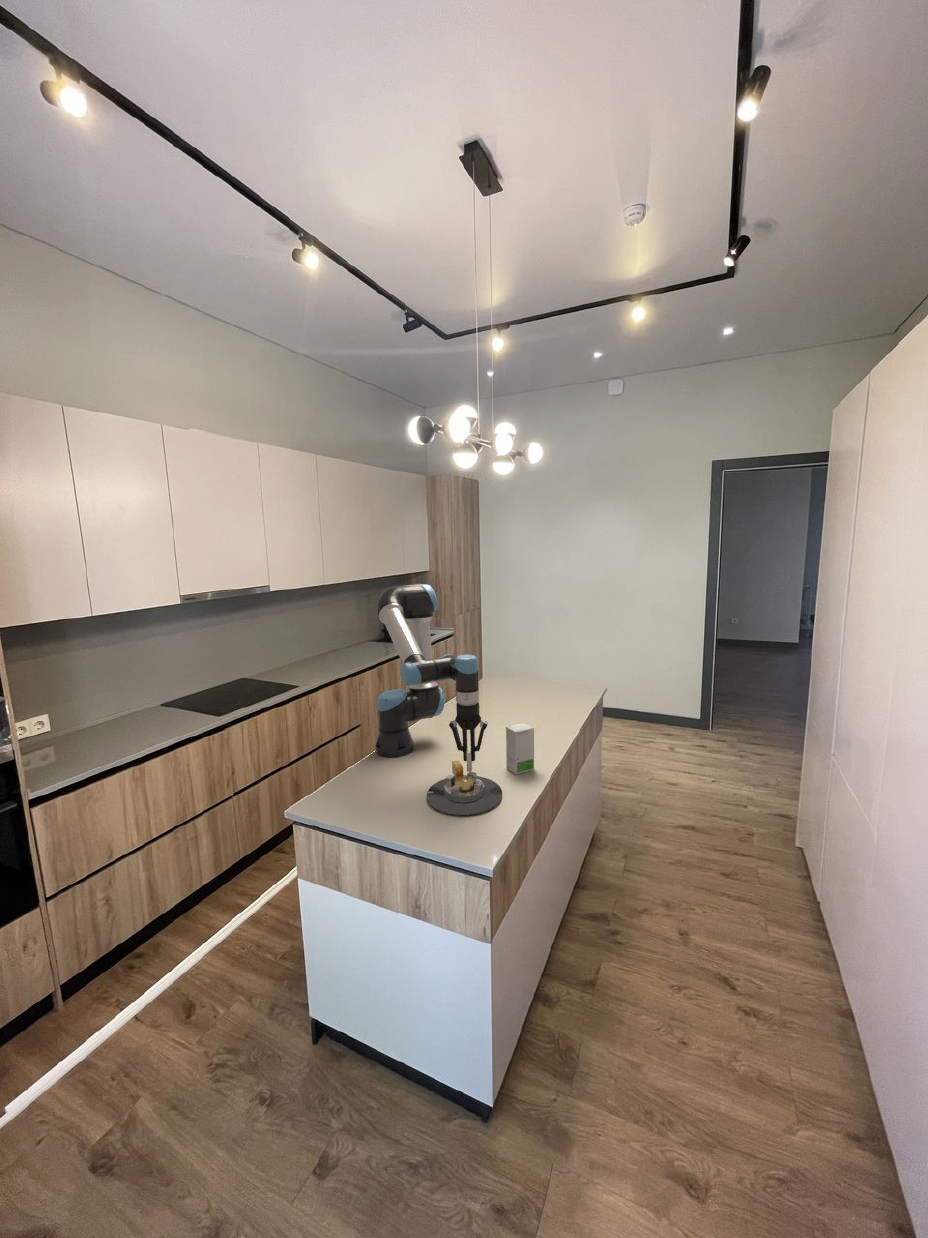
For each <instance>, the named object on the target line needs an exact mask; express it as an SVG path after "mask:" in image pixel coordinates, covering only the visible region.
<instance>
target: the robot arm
mask: <svg viewBox="0 0 928 1238" xmlns="http://www.w3.org/2000/svg"><path fill="white" fill-rule="evenodd" d="M437 610H438V598H437V594H436V592H435V589H433V587H432V586H431V585H430V584H427V583H425V584H424V583H416V584H406V585H393V586H390V587H387V588H386V589H384V590H383V591H382V593H381V594H380V595H379V597H378V599H377V601H376V615H377V617H378V619H379V621H380V622H381V623H382V624H384V626H385V628H386V630H387V632H388V634H389V636H390V638H391V641H392V643H393V645H394V648H395V650H396V652H397V654H398V656H399V658H400V660H401V663H402V664H401V666H400V670H399V675H400V677H401V678H400V679H401V681H402V683H403V685H404V686H409V691H407V690H405V689H404V688H398V689H397V688H393V689H389V690H386V691H384V692H382V693H380V695H379V696H378V697H377V701H376V705H377V706H376V710H377V722H378V733H377V734H378V735H377V738H376V741H375V748H374V749H375V753H376V755H378V756H381V757H384V758H398V757H402V756H405V755H407V754H410V753H411V752H413V751H414V749H415V743H414V740H413V738H412V735H411V732H410V729H409V723H410V722H416V721H420V720H425V719H433V718H434V717H437V716H440V715H441V714H442V712H444V708H445V702H446V700H445V694H444V691H443V689H442V687H440V686H439V683H438V682H439V681H445V680H453V681H455V696H456V697H455V701H456V716H455V718H454V719H453V720H451V721H449V724H448V726H449V728H450V729H451V731H452V735H453V737H454V741H455V745H456V748H457V750H458V751H459V752H460V751H461V752H462V755H463V757H462V758H463V762H466V772H468V773H469V772H470V771H471V772H473V762H475V760H476V752H479V751H480V750H481V746H482V741H483V738H484V737H483V736H484V733H485V730H486V728H487V727H488V723H489V722H487V721H484V720H483V719H482V717H481V714H480V702H479V701H480V688H479V687H480V685H479V682H480V681H479V676H480V675H479V673H480V672H479V668H480V667H479V660H478V657H477V655H473V654H460V655H454V654H450V653H448V654H444V655H442V656H441V657H439V658H433V651H432V637H431V624H430V623H431V622H430V621H431V620H432V619H433V617H434V616H433V615H434V613H436V611H437ZM457 726H459V728H461V732H462V741H461V737H460V734H459V729H458V727H457ZM478 726H479V727H480V731H479V736H478V739H477V743H476V736H475V735H476V729H477V728H478ZM468 731H469V735H470V738H469V739H470V749H468V748H469V747H468ZM376 751H377V752H376Z"/></svg>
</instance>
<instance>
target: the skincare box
mask: <svg viewBox="0 0 928 1238" xmlns="http://www.w3.org/2000/svg"><path fill="white" fill-rule="evenodd" d="M505 743H506V745H505V746H506V748H505V751H506V757H505V759H506V769H508V770H509V771H510V772H511V773H513V774H514V775H519V774H523V773H527V772H531V771H534V770H535V728H534V727H533V726H531V725H529V724H527V723H525V722H524V723H517V724H512V725H507V726H505Z"/></svg>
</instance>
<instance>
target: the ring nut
mask: <svg viewBox="0 0 928 1238" xmlns="http://www.w3.org/2000/svg"><path fill="white" fill-rule="evenodd" d="M451 765H452V766H451V768H452V769H451V770H452V771H451V772H452V774H448V775H447V776H446V777H445V779H446V784H445V786H444V794H445V796H446V798H448V799H450V800H452V801H454V802H463V803H466V802H472V801H476V800H478V799H479V798H481V797H483V795H484V792H485V785H484V784H483V782H482V781H481V780H479V779H477V776H478V774H477V772H475V771H472V772H471V771H470V772H468V773H466V775H468V776H471V777H473V779H474V790H473V791H472V792H467V793H461V787H459V786H455V778H456V777H458V776H461V775H464V766H463V764H462V763H461V761H460V760H453V761H452V760H451Z"/></svg>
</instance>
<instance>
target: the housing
mask: <svg viewBox="0 0 928 1238" xmlns="http://www.w3.org/2000/svg"><path fill="white" fill-rule="evenodd" d="M477 779H479V780H481V781H482V782H483V784H484V785H485V792H484V795H483V797H481V798H479V799H478V800H476V801H472V802H466V803H463V802H454V801H452V800H450V799H448V798H446V796H445V794H444V786H445V784H446V778H443V779H441V780H438V781H437V782H435V783H433V785H431V786H430V787H429V788H428V790H427V793H426V800H427V803H428V806H430V808H432V809H433V810H435V811H436V812H437V813H439V814H443V815H447V816H450V817H451V816H452V817H461V818H462V817H467V818H468V817H473V816H479V815H484V814H486V813H488V812H490V811H493V810H494V809H495V808H497V807H498V806H499V805H500V804H501V803H502V800H503V790H502V788H501V786H500V785H499V784H498V783H496V782H495V781H494V780H492V779H490V778H487V777H484V776H479V775H477ZM455 786H459V787H461V793H467V792H472V791H473V790H474V779H473V777H471V776H468V775H467V774H463V775H461V776H458V777H456V778H455Z"/></svg>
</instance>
